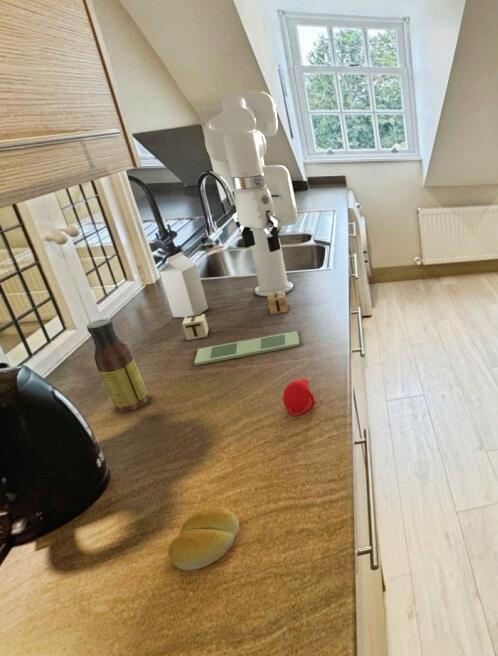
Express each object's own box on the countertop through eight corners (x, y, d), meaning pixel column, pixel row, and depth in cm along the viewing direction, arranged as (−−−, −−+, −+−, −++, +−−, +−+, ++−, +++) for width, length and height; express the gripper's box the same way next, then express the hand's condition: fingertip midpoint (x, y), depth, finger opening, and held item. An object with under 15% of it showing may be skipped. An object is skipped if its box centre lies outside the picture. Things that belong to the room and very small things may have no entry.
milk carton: (208, 308, 145) (193, 251, 137) (194, 318, 138) (178, 258, 131) (187, 308, 146) (171, 251, 138) (173, 317, 139) (155, 258, 132)
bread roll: (160, 574, 61) (151, 553, 59) (196, 518, 69) (189, 499, 67) (220, 574, 60) (212, 553, 59) (249, 518, 69) (243, 498, 67)
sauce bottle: (140, 393, 101) (111, 312, 93) (155, 401, 98) (127, 318, 90) (108, 409, 96) (74, 325, 88) (123, 417, 93) (90, 331, 85)
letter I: (270, 308, 143) (267, 293, 141) (287, 306, 145) (284, 290, 143) (270, 314, 139) (267, 299, 137) (287, 312, 140) (284, 296, 138)
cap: (316, 417, 91) (312, 392, 89) (285, 423, 90) (280, 398, 87) (315, 395, 98) (311, 371, 96) (287, 400, 97) (281, 376, 94)
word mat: (198, 351, 119) (198, 348, 118) (297, 333, 126) (297, 330, 126) (194, 365, 112) (193, 362, 111) (299, 346, 119) (299, 343, 119)
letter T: (189, 332, 129) (184, 316, 127) (208, 329, 131) (204, 313, 128) (186, 340, 125) (181, 323, 123) (206, 337, 126) (202, 320, 124)
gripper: (284, 182, 113) (296, 248, 120) (238, 179, 121) (252, 241, 128) (260, 187, 107) (273, 256, 114) (213, 183, 115) (229, 248, 122)
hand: (262, 248), depth 121 cm, fingers open, 9 cm apart
